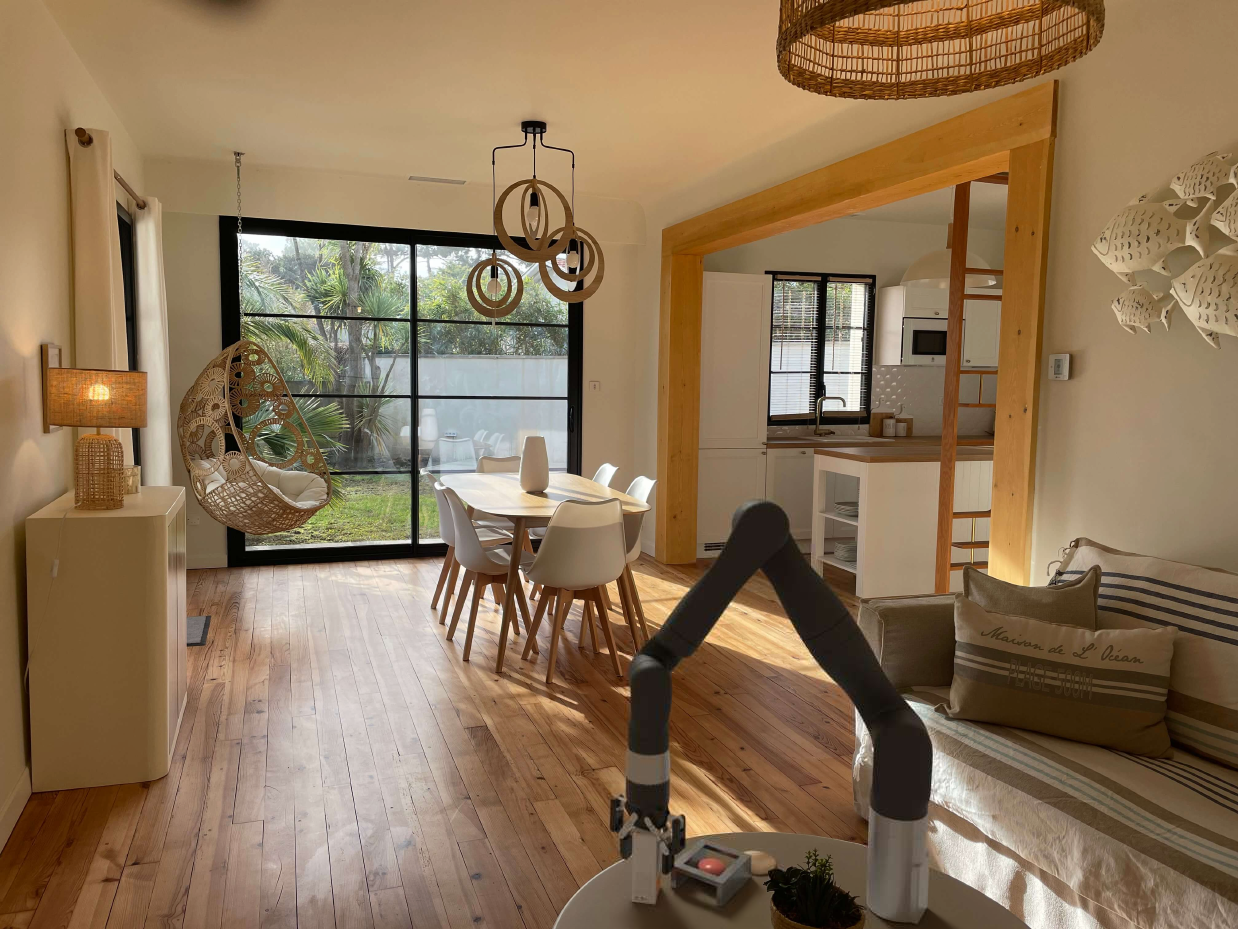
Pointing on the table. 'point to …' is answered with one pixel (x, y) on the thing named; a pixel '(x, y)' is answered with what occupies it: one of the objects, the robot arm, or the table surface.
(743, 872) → the grey square frame
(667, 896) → the table surface
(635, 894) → the skincare box
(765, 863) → the coaster
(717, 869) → the button
